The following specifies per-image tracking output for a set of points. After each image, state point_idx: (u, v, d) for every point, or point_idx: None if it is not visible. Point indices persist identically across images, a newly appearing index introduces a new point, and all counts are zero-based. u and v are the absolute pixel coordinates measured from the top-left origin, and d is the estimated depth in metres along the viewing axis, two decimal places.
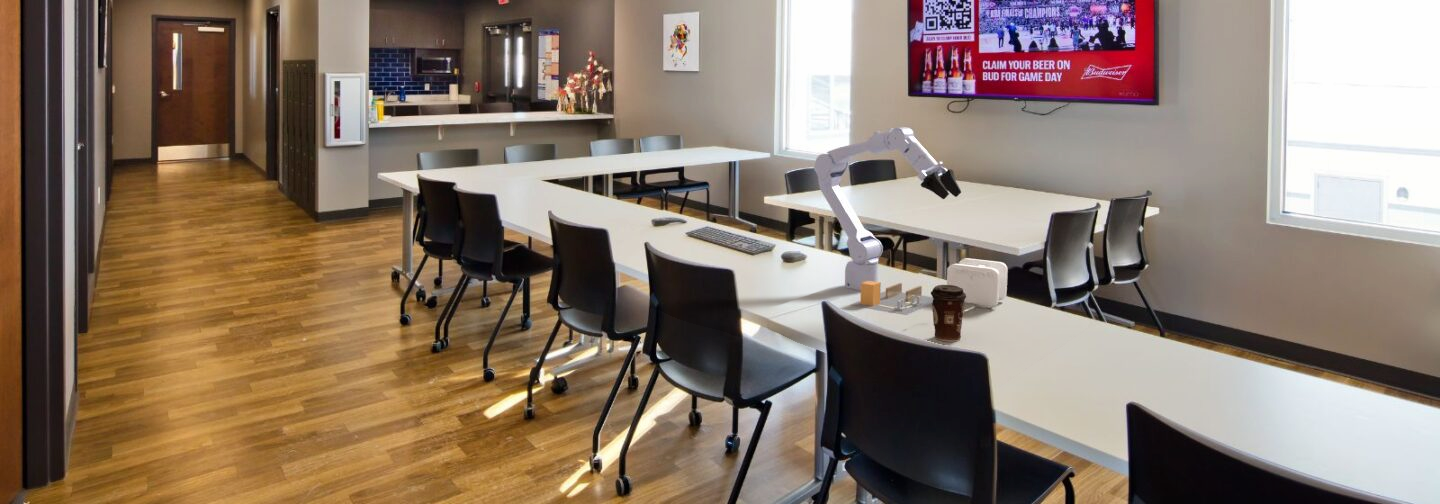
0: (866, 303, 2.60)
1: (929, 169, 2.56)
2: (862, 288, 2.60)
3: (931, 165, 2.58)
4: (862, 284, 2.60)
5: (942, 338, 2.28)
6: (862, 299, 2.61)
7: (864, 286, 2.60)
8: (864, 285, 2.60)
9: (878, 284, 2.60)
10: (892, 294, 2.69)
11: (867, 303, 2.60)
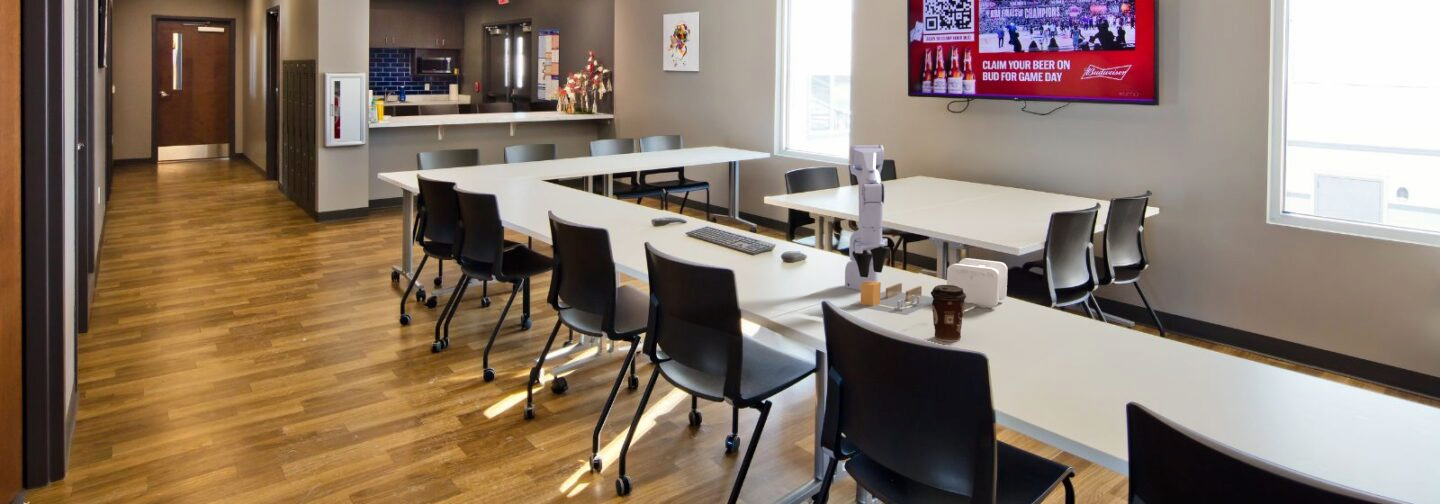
0: (866, 303, 2.60)
1: (869, 246, 2.54)
2: (862, 288, 2.60)
3: (874, 242, 2.56)
4: (862, 284, 2.60)
5: (942, 338, 2.28)
6: (862, 299, 2.61)
7: (864, 286, 2.60)
8: (864, 285, 2.60)
9: (878, 284, 2.60)
10: (892, 294, 2.69)
11: (867, 303, 2.60)
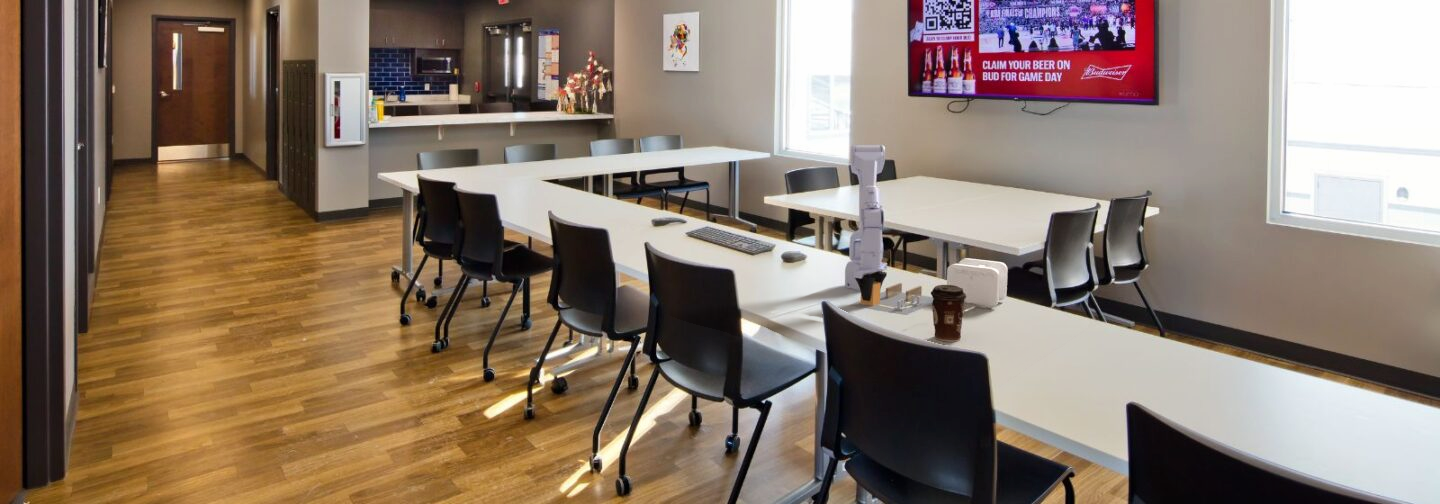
0: (866, 303, 2.60)
1: (868, 271, 2.56)
2: None
3: (873, 266, 2.57)
4: None
5: (942, 338, 2.28)
6: (862, 299, 2.61)
7: None
8: None
9: (878, 284, 2.60)
10: (892, 294, 2.69)
11: (867, 303, 2.60)
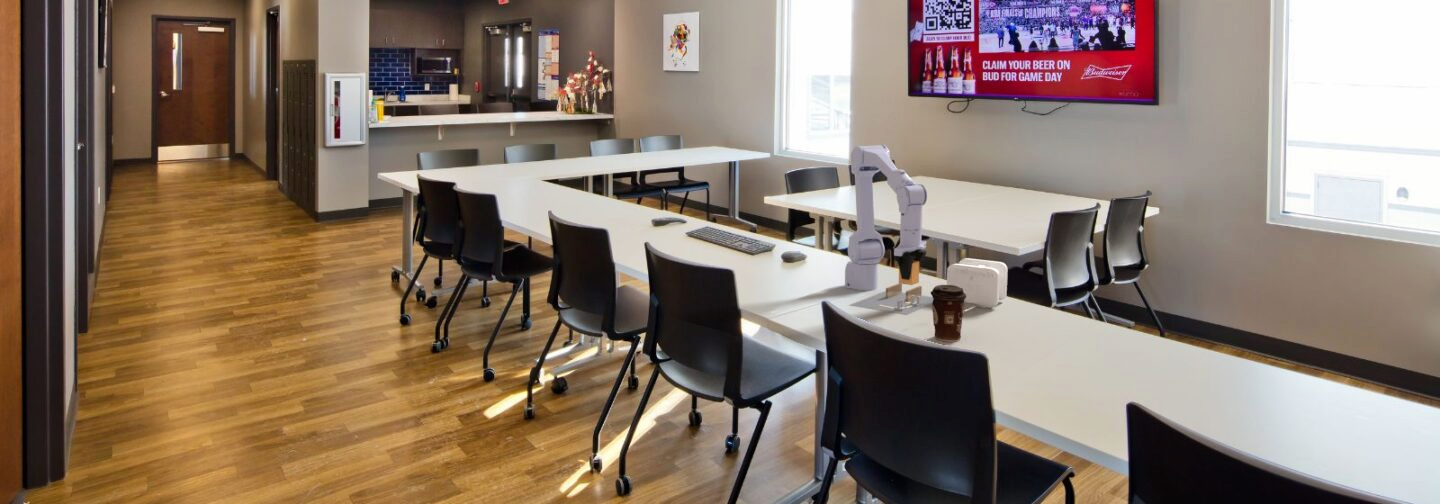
0: (904, 282, 2.55)
1: (908, 249, 2.50)
2: None
3: (913, 244, 2.51)
4: None
5: (942, 338, 2.28)
6: (900, 278, 2.56)
7: None
8: None
9: (917, 262, 2.55)
10: (892, 294, 2.69)
11: (905, 282, 2.55)
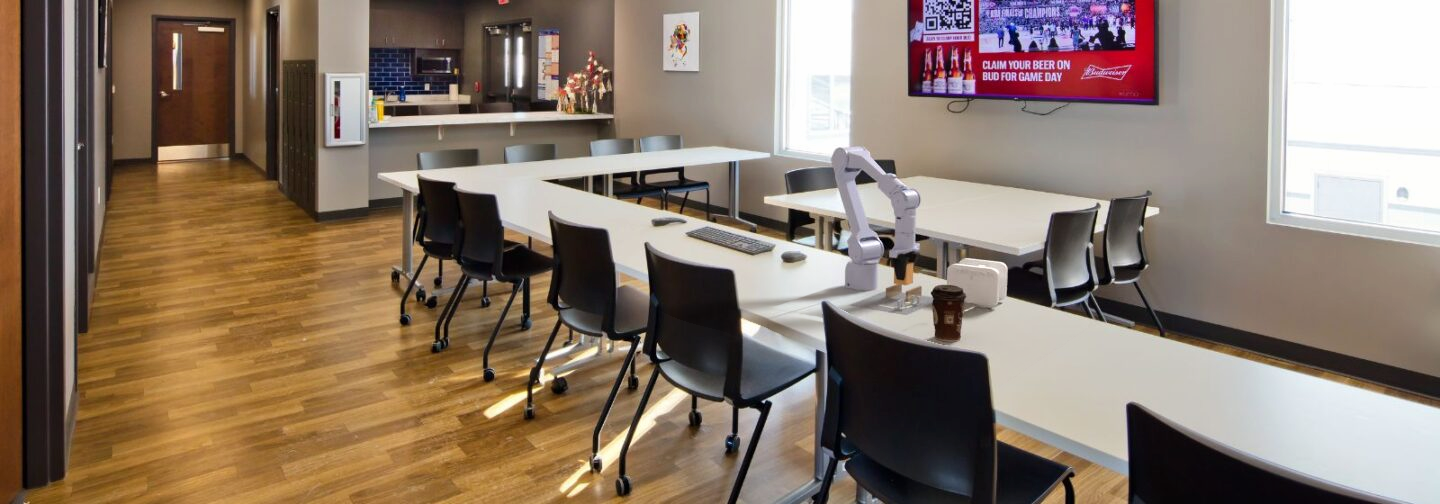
0: (899, 283, 2.66)
1: (903, 251, 2.62)
2: None
3: (908, 246, 2.63)
4: None
5: (942, 338, 2.28)
6: (895, 279, 2.67)
7: None
8: None
9: (911, 264, 2.66)
10: (892, 294, 2.69)
11: (900, 283, 2.66)
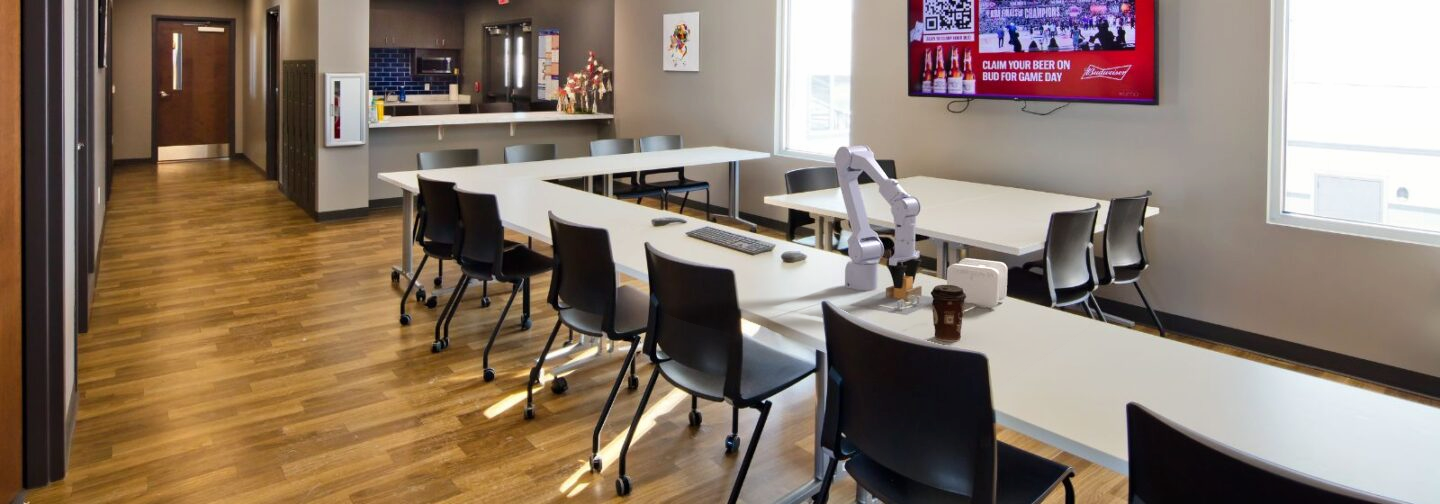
0: (899, 297, 2.67)
1: (903, 259, 2.62)
2: None
3: (907, 254, 2.63)
4: None
5: (942, 338, 2.28)
6: (895, 293, 2.68)
7: None
8: None
9: (911, 278, 2.67)
10: (892, 294, 2.69)
11: (900, 297, 2.67)
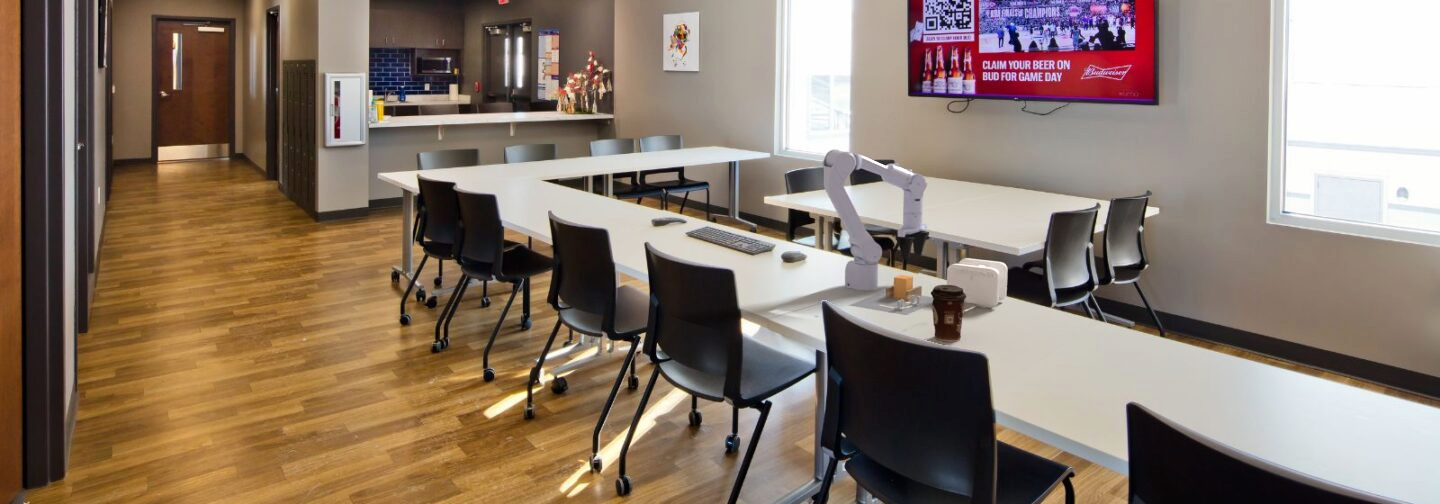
0: (899, 297, 2.67)
1: (910, 231, 2.78)
2: (895, 282, 2.67)
3: (915, 226, 2.79)
4: (895, 278, 2.67)
5: (942, 338, 2.28)
6: (895, 293, 2.68)
7: (897, 280, 2.67)
8: (897, 279, 2.67)
9: (911, 278, 2.67)
10: (892, 294, 2.69)
11: (900, 297, 2.67)
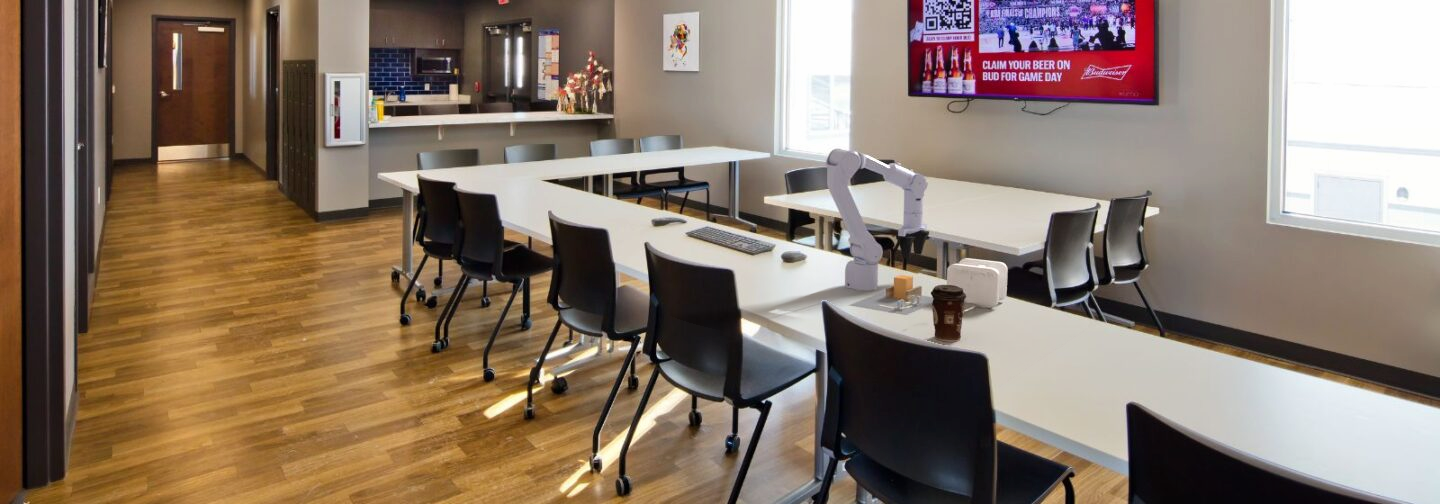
0: (899, 297, 2.67)
1: (911, 230, 2.79)
2: (895, 282, 2.67)
3: (915, 226, 2.80)
4: (895, 278, 2.67)
5: (942, 338, 2.28)
6: (895, 293, 2.68)
7: (897, 280, 2.67)
8: (897, 279, 2.67)
9: (911, 278, 2.67)
10: (892, 294, 2.69)
11: (900, 297, 2.67)
